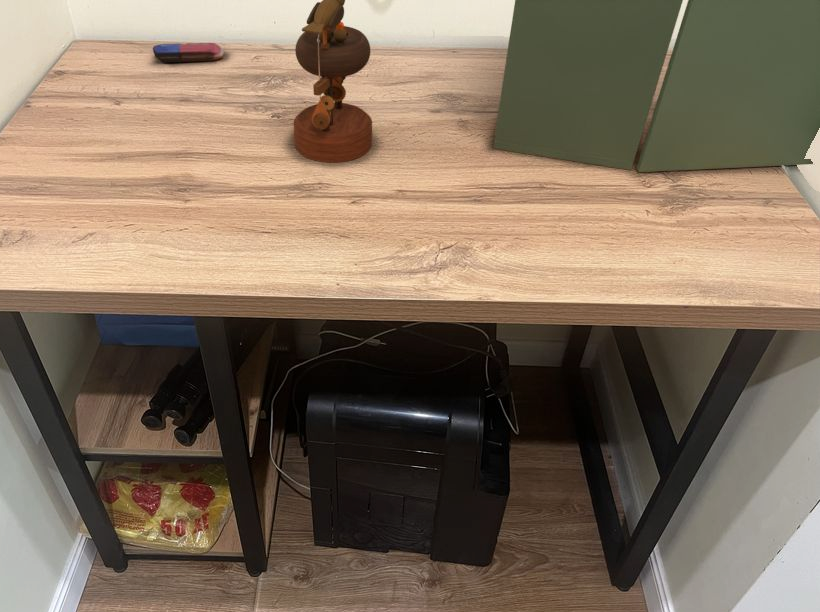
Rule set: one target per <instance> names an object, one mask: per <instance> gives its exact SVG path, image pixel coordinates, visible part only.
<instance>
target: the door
mask: <svg viewBox="0 0 820 612" xmlns="http://www.w3.org/2000/svg"><path fill="white" fill-rule="evenodd" d="M819 128H820V0H687V3H686V6H685V9H684V13H683V16H682V20H681V23H680V26H679V29H678V32H677V35H676V39H675V42H674V46H673V49H672V52H671V55H670V58H669V61H668V65H667V68H666V71H665V74H664V78H663V80H662V84H661V87H660V91H659V92H658V97H657V100H656V103H655V106H654V109H653V114H652V116H651V119H650V123H649V126H648V129H647V132H646V136H645V139H644V142H643V146H642V149H641V152H640V155H639V158H638V162H637V165H636V170H637V172H638V173H652V172H675V171H690V170H691V171H694V170H695V171H696V170H714V169H715V170H716V169H719V170H720V169H737V168H739V169H740V168H758V167H759V168H761V167H779V166H801V165H802V166H803V165H814V164H813V162H812V161H811V159H804V158H805V156H806V153H807V151H808V149H809V148H810V145H811V143H812V141H813V140H814V138H815V136H816V134H817V132H818V130H819Z"/></svg>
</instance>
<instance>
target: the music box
mask: <svg viewBox="0 0 820 612" xmlns="http://www.w3.org/2000/svg"><path fill="white" fill-rule="evenodd" d="M345 3H346V0H321V1H318V2H316V3H315V4H314V6H313V8H312V9H311V11H310V13H309V15H308V17H307V19H306V24H307V25H305V26H304V27H302V28H301V31H302V34H301V35H299V37H298V39H297V41H296V44H295V49H294V50H295V57H296V60H297V62H298V64H299V66H300V67H301V68H302V69H303V70H304V71H306V72H307V73H309V74H311V75H313V76H317V77H318V80H317V81H316V82H315V83H314V84H312V85H313V87H312V88H313V89H312V90H313V95H314V96H317V97H318V96H319V100H318V103H316V104H312V105H310V106H307V107H305V108H304V109H302V110H301V111H300V112H299V113H298V114H297V115H295V118H294V119H293V137H294V147H295V149H296V151H297V152H298V154H300V155H301V156H303V157H304V158H307V159H309V160H313V161H316V162H321V163H345V162H350V161H353V160H357V159H360V158H361V157H363V156H364V155H366V154H367V153H368V152H369V151H370V150H371V149H372V143H373V120H372V119H373V118H372V117H371V116H370V115H369V114H368V113H367V112H366V111H365V110H364V109H362V108H361V107H359V106H356V105H354V104H350V103H345V102H343V100H344V99H345V98H346V95H347V91H346V90H347V89H346V88H345V86H344V85H343V83H344V81H345V80H346V78H347V77H349V76H353V75H355V74H357V73H359V72H360V71H362V70H363V69H364V68H365V67H366V66H367V64H368V62H369V60H370V57H371V45H370V41H369V38H367V36H366V35H365V34H364V33H363V32H362V30H359V29H357V28H355V27H351V26H347V25H345V24H344V23H343V21H342V20H343V19H344V16H345V8H344V6H345Z"/></svg>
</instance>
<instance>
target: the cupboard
mask: <svg viewBox="0 0 820 612" xmlns="http://www.w3.org/2000/svg"><path fill="white" fill-rule="evenodd" d="M683 1H684V0H514V6H513V12H512V19H511V25H510V33H509V39H508V46H507V52H506V59H505V64H504V65H505V66H504V71H503V78H502V84H501V85H502V86H501V91H500V99H499V104H498V111H497V118H496V125H495V131H494V138H493V144H492V149H493V150H501V151H507V152H513V153H519V154H525V155H532V156H537V157H545V158H551V159H557V160H562V161H570V162H577V163H581V164H582V163H583V164H588V165H595V166H600V167H606V168H613V169H620V170H626V171H632V169H633V165H634V162H635V159H636V156H637V152H638V149H639V146H640V142H641V139H642V136H643V132H644V129H645V126H646V123H647V119H648V116H649V114H650V110H651V106H652V103H653V100H654V96H655V93H656V91H657V87H658V84H659V80H660V77H661V74H662V71H663V67H664V65H665V60H666V57H667V53H668V51H669V47H670V44H671V40H672V37H673V34H674V31H675V28H676V25H677V21H678V18H679V14H680V11H681V8H682V4H683Z"/></svg>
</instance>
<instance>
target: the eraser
mask: <svg viewBox="0 0 820 612" xmlns="http://www.w3.org/2000/svg"><path fill="white" fill-rule="evenodd" d="M152 52H153V54H154V57H155V58H156V59H157V60H158V61H160V62H161V63H190V62H191V63H193V62H194V63H195V62H215V61H218V60H221V59H223V58H224V57H225V56H224V55H225V54H224V50H223V48H222V47H221V46H220V45H218V44H217V43H215V42H199V43H198V42H197V43H195V42H194V43H191V42H189V43H162V44H161V43H160V44H156V45H154V46H153V47H152Z"/></svg>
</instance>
